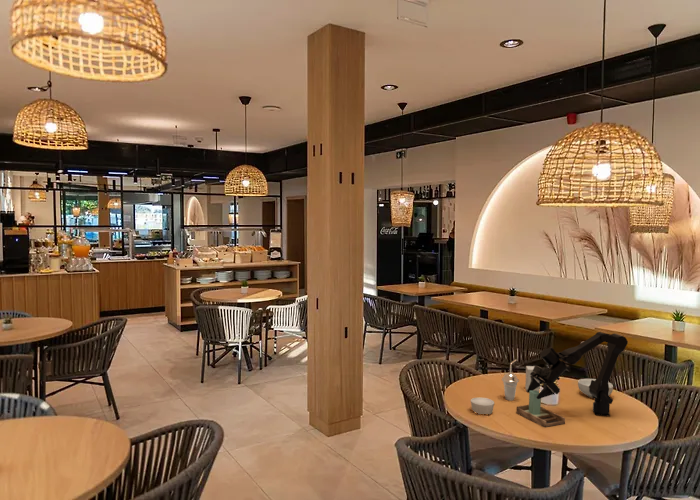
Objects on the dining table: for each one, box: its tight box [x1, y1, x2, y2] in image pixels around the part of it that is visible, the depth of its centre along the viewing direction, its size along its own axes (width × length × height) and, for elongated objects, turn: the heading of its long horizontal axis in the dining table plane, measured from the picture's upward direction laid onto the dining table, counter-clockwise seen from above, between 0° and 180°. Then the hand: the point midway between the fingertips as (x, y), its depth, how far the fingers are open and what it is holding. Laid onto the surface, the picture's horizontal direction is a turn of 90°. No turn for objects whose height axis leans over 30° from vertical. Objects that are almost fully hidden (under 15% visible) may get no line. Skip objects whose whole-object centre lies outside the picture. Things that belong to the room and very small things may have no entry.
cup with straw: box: [501, 359, 520, 401], centre depth 268 cm, size 8×9×20 cm
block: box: [528, 390, 542, 415], centre depth 245 cm, size 4×4×10 cm
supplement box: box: [524, 365, 540, 392], centre depth 282 cm, size 7×7×13 cm
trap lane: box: [515, 404, 566, 428], centre depth 242 cm, size 18×12×3 cm, turn 23°
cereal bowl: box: [577, 378, 614, 399], centre depth 275 cm, size 17×17×7 cm
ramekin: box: [470, 397, 495, 415], centre depth 250 cm, size 11×11×5 cm
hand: (532, 395), depth 245 cm, fingers open, 9 cm apart
